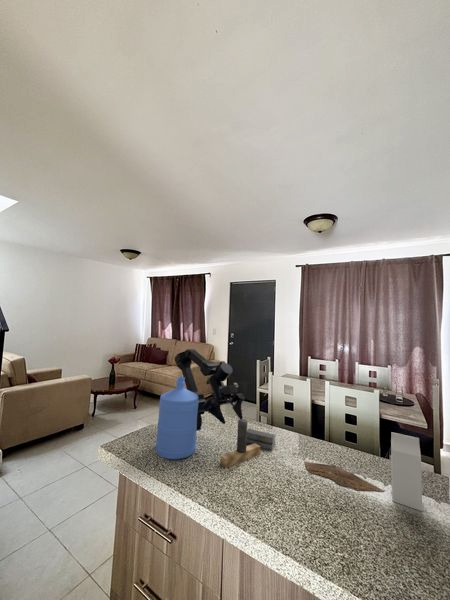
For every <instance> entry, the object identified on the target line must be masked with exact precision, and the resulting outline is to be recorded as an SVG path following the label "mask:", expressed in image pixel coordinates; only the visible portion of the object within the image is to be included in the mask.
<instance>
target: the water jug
mask: <svg viewBox="0 0 450 600" xmlns="http://www.w3.org/2000/svg"><path fill="white" fill-rule="evenodd" d="M176 379H177V380H176V387H175V388H173V389H170V390H169V391H167V392H163V393H162V394H161V395H160V398H159V402H158V403H159V404H158V409H159V410H158V419H157V420H158V421H157V433H156V434H157V435H156V443H155V453H156V454H157V455H158V457H161V458H163V459H166V460H182V459H186V458H188V457H190V456H191V455H193V454H194V452H195V451H196V449H197V442H196V441H197V430H196V429H197V413H198V403H199V401H198V395H197V394H195V393H193V392H191V391H189V390H187V388H186V387H185V385H186V384H185V381H184V379H185V378H184V377H183V376H179V377H177V378H176Z"/></svg>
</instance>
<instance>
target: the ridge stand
mask: <svg viewBox="0 0 450 600" xmlns="http://www.w3.org/2000/svg"><path fill="white" fill-rule="evenodd" d="M254 443H255V444H257V445H259V446H260V449H265V450H268V451H272V452H273V449H274V447H276V434H273V433H270V432H265V431H260V430H257V429H251V428H247V443H246V445H247V446H249V445H252V444H254Z"/></svg>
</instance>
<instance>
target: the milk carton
mask: <svg viewBox="0 0 450 600" xmlns="http://www.w3.org/2000/svg"><path fill="white" fill-rule="evenodd" d="M390 443H391V444H390V445H391V446H390V457H391V460H390V461H391V463H390V464H391V492H392V494H391V495H392V502H394V503H397V504H400V505H403V506H406V507H408V508H412V509H415V510H417V511H420V512H422V511H423V487H422V486H423V483H422V482H423V480H422V454H421V448H420V447H421V446H420V438H419V437H417V436H416V437H415V436H411V435H405V434H402V433H397V432H392V431H391V438H390Z"/></svg>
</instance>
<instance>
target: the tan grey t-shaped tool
mask: <svg viewBox="0 0 450 600" xmlns="http://www.w3.org/2000/svg"><path fill="white" fill-rule="evenodd" d="M247 430H248V420H247V419H244V418H243V419H240V418H239V419H237V434H236V435H237V438H236V449H235V450H232V451H230V452H227V453H224V454H221V455H220V459H219V464H220V465H221V466H222V467H223V468H229V467H231V466H234V465H236V464H238V463H240V462H243V461H246V460H248V459H251V458H252V457H253V458H254V457H255V456H258V455H260V454H261V448H260V446H259V445H257V444H255V443H254V444H252V445H247V444H246V443H247Z"/></svg>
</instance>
